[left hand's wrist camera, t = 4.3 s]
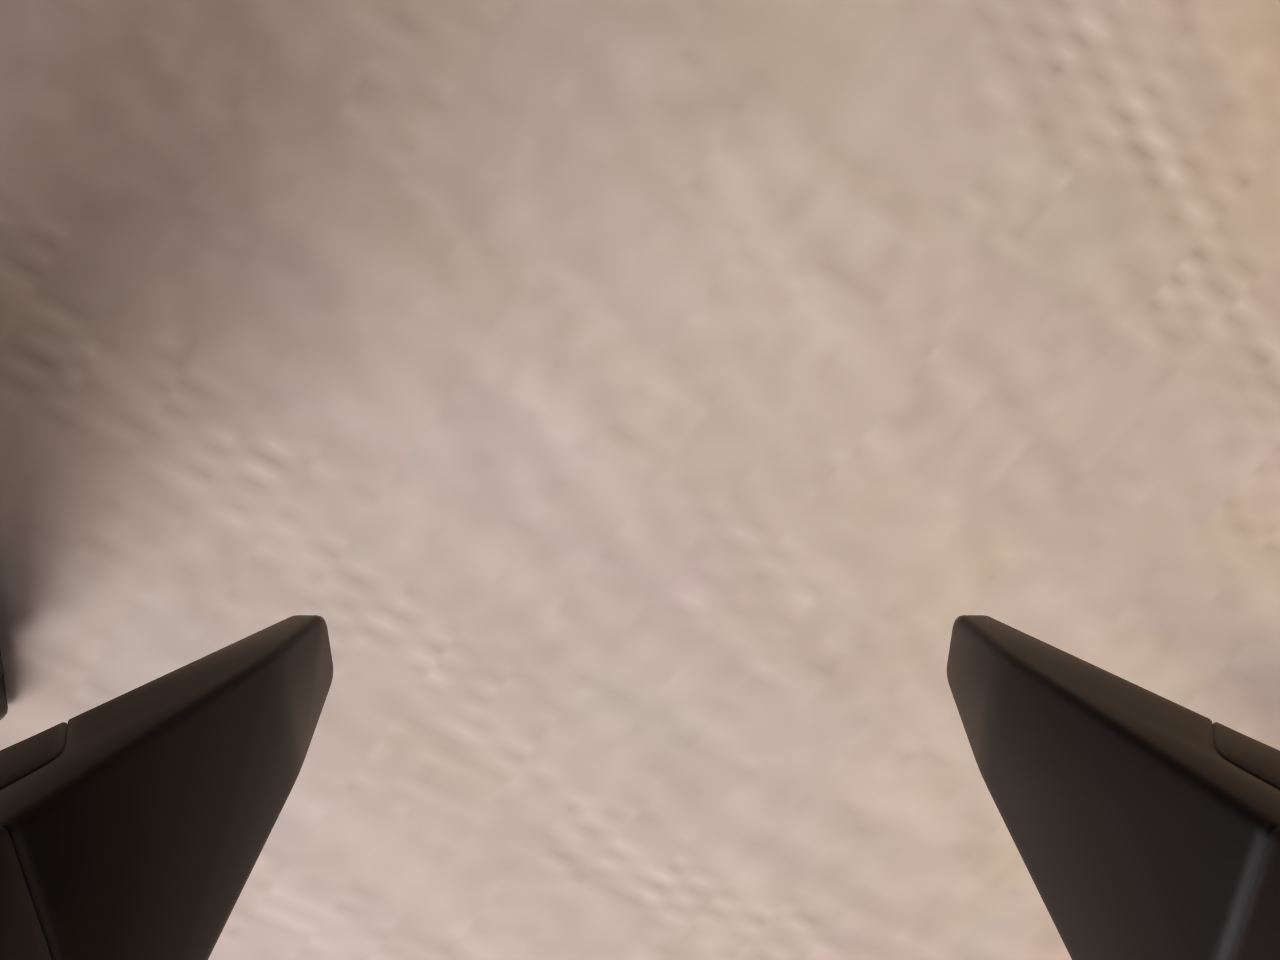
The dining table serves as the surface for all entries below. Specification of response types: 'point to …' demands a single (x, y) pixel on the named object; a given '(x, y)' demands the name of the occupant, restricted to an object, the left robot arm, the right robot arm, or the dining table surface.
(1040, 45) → the dining table surface
